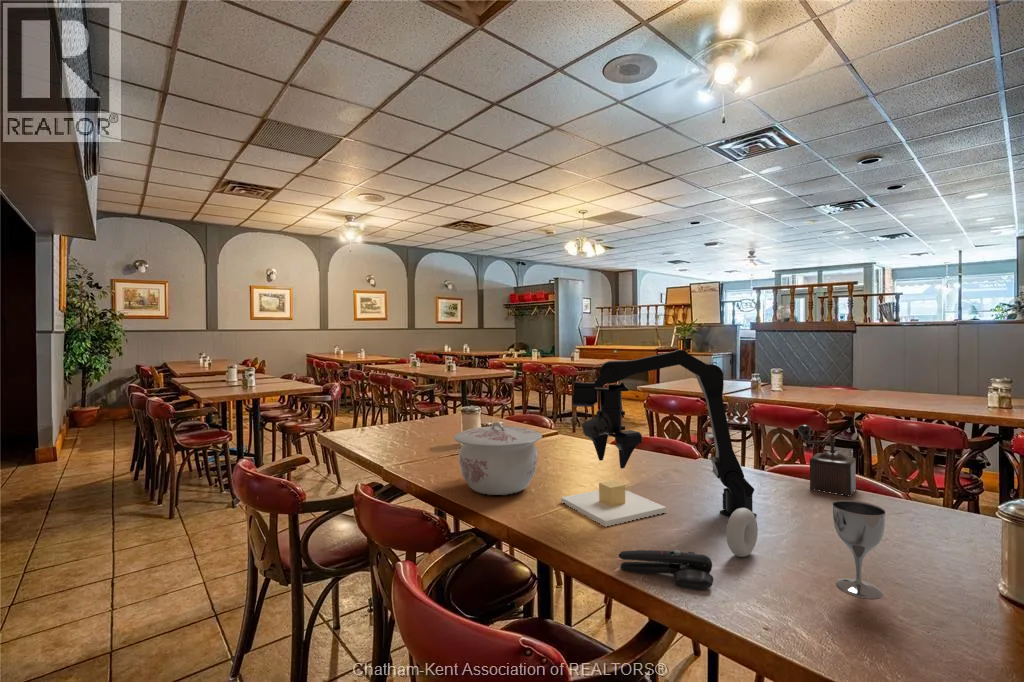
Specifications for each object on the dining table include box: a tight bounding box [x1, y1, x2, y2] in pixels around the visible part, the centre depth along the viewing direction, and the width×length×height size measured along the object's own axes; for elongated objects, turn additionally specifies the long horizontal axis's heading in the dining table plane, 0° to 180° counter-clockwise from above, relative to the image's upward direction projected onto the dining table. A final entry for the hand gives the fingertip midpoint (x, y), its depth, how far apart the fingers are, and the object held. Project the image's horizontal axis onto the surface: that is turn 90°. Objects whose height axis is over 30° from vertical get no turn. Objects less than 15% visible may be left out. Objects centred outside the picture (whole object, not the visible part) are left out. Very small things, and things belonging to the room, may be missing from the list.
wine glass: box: [831, 499, 887, 600], centre depth 89 cm, size 8×8×15 cm
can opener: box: [618, 549, 714, 591], centre depth 94 cm, size 18×7×6 cm, turn 65°
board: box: [560, 489, 667, 528], centre depth 132 cm, size 20×20×2 cm
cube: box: [598, 479, 626, 506], centre depth 132 cm, size 5×5×5 cm
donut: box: [725, 508, 759, 558], centre depth 103 cm, size 10×4×10 cm, turn 131°
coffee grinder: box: [797, 424, 857, 497], centre depth 147 cm, size 16×11×18 cm
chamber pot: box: [453, 421, 543, 496], centre depth 150 cm, size 28×28×21 cm
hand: (611, 464), depth 132 cm, fingers open, 9 cm apart
